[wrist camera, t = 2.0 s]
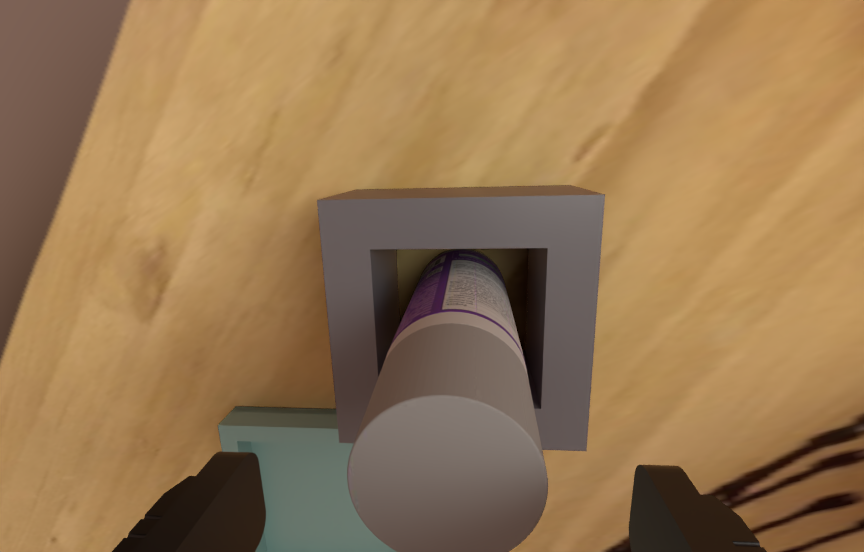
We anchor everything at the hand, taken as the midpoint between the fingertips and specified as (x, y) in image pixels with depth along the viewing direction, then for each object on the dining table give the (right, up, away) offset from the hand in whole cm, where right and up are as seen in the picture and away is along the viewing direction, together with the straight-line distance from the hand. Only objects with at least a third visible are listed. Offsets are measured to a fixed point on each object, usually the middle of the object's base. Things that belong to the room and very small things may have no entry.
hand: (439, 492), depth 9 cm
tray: (-6, -9, +19) cm, 22 cm away
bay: (+1, +4, +15) cm, 15 cm away
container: (+1, +4, +15) cm, 16 cm away
